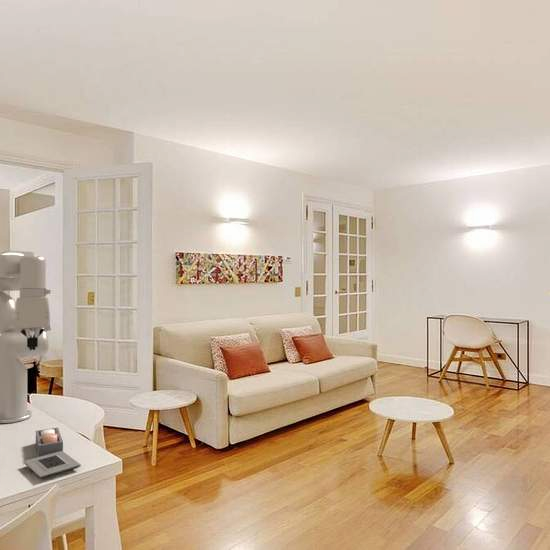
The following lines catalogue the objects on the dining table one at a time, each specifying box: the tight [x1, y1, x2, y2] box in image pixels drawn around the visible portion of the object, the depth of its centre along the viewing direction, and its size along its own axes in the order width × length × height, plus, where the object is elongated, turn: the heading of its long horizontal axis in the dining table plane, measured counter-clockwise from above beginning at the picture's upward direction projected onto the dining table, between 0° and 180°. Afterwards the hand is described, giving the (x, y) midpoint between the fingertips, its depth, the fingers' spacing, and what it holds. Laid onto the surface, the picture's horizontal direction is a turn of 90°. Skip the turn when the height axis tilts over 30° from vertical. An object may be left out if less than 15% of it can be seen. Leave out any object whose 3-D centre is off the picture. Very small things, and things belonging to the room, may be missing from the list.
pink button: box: [43, 433, 57, 444], centre depth 138 cm, size 4×4×4 cm
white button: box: [41, 428, 55, 436], centre depth 144 cm, size 4×4×4 cm
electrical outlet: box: [23, 450, 81, 480], centre depth 127 cm, size 13×10×2 cm
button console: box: [35, 427, 64, 457], centre depth 141 cm, size 14×6×4 cm, turn 31°
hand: (32, 349), depth 150 cm, fingers closed
